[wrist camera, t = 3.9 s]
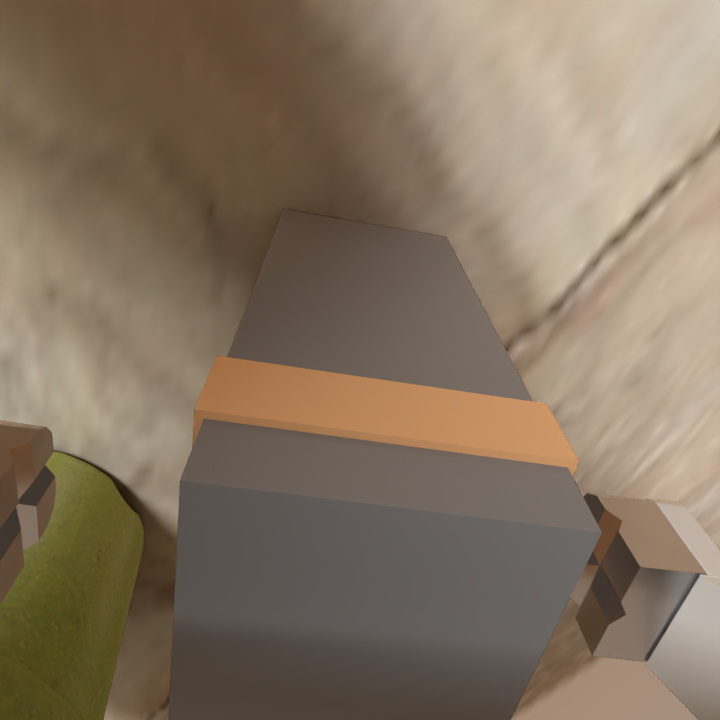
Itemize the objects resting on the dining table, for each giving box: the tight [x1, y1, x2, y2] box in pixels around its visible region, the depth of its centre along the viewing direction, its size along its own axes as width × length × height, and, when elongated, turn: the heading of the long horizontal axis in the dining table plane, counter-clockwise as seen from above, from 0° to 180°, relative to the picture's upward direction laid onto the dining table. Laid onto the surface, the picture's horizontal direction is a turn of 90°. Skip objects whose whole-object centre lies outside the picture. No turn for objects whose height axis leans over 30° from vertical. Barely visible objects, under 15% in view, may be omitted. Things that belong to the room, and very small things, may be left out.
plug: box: [169, 209, 602, 720], centre depth 11 cm, size 4×4×10 cm
